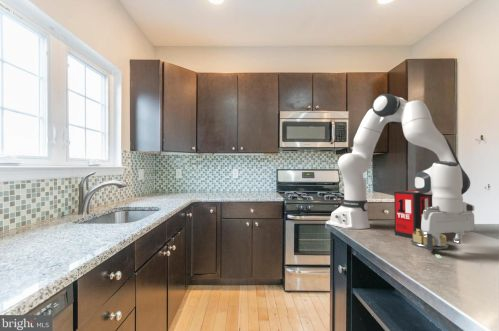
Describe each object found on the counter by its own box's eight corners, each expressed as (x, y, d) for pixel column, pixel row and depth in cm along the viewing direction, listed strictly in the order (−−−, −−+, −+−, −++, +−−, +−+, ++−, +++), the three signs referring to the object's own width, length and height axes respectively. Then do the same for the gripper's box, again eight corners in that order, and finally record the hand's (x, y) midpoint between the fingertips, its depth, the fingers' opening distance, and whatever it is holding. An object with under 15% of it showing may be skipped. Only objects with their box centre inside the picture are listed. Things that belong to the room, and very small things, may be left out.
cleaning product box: (415, 239, 109) (414, 193, 110) (394, 235, 117) (394, 191, 117) (433, 234, 118) (433, 191, 118) (413, 230, 126) (412, 190, 126)
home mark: (435, 254, 89) (435, 254, 89) (439, 255, 89) (439, 254, 89) (438, 258, 86) (438, 257, 86) (442, 258, 85) (442, 258, 85)
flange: (406, 244, 102) (406, 229, 102) (416, 239, 109) (416, 225, 110) (443, 252, 93) (443, 235, 93) (451, 245, 100) (451, 230, 100)
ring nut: (413, 236, 109) (413, 225, 109) (444, 240, 102) (444, 228, 103) (412, 247, 93) (411, 234, 93) (449, 253, 87) (449, 238, 87)
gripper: (432, 208, 86) (432, 249, 86) (478, 206, 91) (479, 244, 90) (415, 205, 92) (416, 243, 92) (459, 203, 97) (460, 240, 97)
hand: (447, 244), depth 91 cm, fingers open, 7 cm apart
